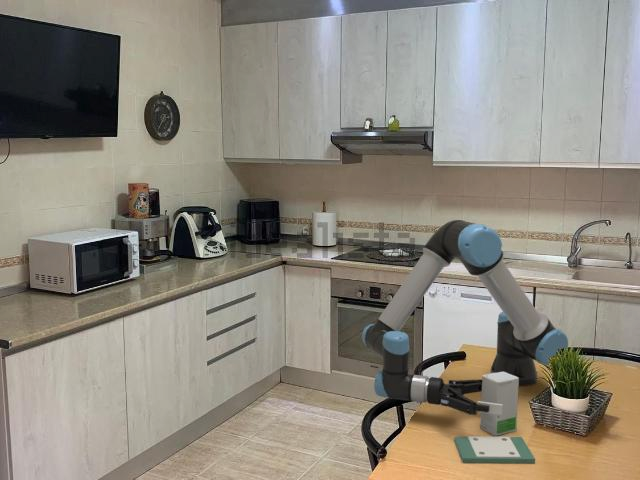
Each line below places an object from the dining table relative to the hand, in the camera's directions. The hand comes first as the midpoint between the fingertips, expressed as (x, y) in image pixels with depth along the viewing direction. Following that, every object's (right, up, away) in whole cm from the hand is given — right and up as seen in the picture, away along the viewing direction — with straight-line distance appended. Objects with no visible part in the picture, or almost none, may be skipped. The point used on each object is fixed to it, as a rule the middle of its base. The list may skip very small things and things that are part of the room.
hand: (504, 400), depth 180 cm
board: (-6, -11, -11) cm, 16 cm away
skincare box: (-1, -9, +2) cm, 9 cm away
